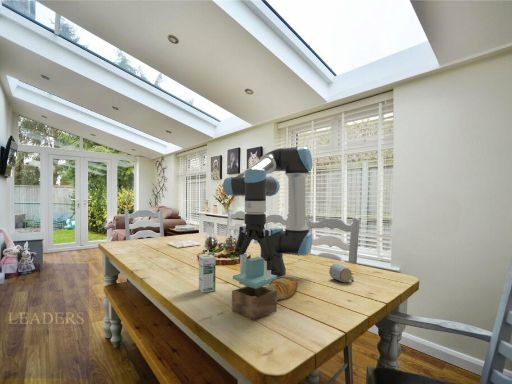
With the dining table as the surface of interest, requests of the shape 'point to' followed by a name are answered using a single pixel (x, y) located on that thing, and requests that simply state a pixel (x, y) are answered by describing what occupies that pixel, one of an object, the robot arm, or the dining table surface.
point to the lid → (254, 274)
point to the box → (254, 302)
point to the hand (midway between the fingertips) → (254, 275)
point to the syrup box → (207, 273)
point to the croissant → (283, 287)
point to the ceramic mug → (340, 273)
